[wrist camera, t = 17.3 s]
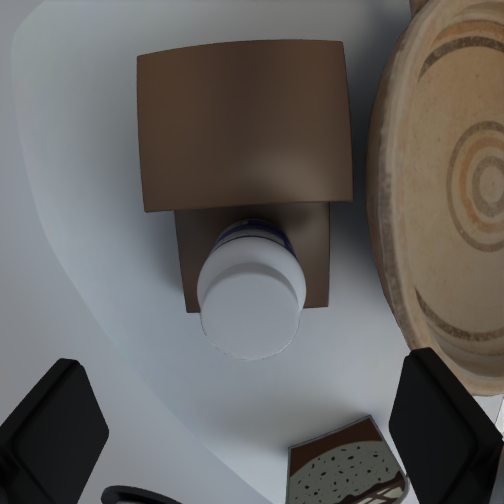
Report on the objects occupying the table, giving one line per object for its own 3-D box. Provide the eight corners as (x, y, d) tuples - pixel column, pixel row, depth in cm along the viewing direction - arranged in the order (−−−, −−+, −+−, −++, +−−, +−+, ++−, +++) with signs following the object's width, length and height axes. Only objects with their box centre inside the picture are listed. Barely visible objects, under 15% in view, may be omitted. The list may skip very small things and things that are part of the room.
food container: (298, 476, 31) (304, 543, 21) (275, 451, 29) (278, 527, 20) (395, 437, 29) (422, 502, 19) (383, 408, 28) (414, 481, 18)
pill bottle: (290, 296, 22) (307, 375, 13) (213, 292, 22) (187, 370, 13) (296, 218, 20) (323, 259, 12) (213, 215, 20) (181, 253, 12)
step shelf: (193, 299, 25) (167, 355, 17) (175, 88, 20) (136, 55, 13) (322, 293, 24) (347, 349, 17) (315, 79, 20) (343, 40, 12)
